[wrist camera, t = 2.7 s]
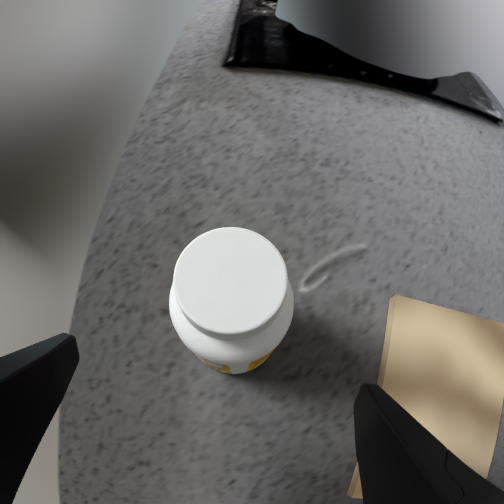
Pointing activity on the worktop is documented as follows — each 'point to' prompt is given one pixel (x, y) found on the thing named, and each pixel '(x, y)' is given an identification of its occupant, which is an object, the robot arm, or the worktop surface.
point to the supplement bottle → (231, 299)
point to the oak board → (445, 377)
